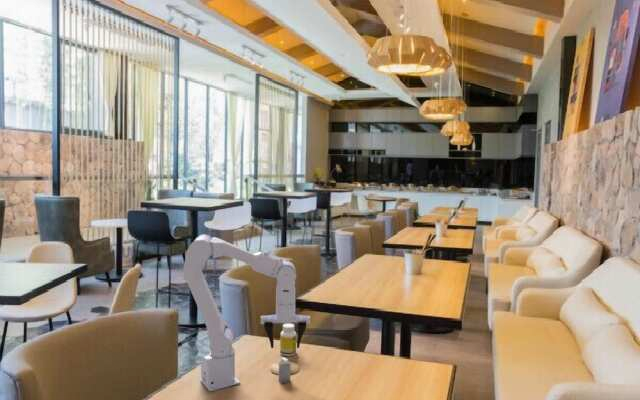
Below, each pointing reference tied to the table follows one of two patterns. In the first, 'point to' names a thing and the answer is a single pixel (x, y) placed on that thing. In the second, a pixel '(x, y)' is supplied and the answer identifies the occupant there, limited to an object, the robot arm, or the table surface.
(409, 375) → the table surface
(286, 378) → the plug
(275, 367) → the coaster
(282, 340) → the supplement bottle
